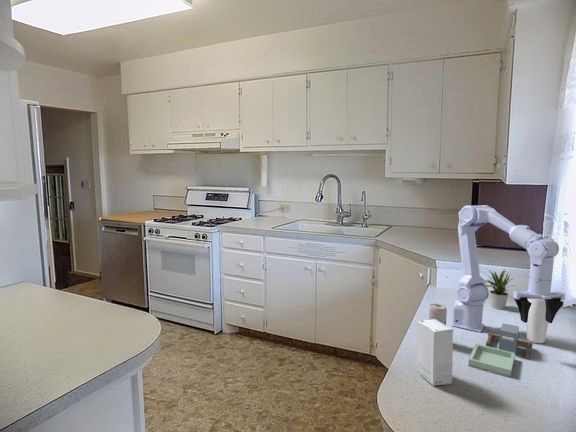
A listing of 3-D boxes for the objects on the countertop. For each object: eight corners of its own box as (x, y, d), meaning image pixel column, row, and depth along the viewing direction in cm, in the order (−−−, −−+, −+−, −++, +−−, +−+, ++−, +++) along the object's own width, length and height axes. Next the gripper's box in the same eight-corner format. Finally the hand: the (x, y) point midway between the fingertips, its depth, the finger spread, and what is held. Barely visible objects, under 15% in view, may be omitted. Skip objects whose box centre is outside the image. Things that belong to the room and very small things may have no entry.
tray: (468, 365, 111) (468, 359, 110) (475, 349, 121) (476, 343, 121) (510, 377, 105) (511, 370, 104) (514, 359, 115) (515, 353, 115)
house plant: (481, 298, 172) (484, 262, 170) (517, 305, 164) (520, 267, 162) (475, 307, 161) (478, 268, 159) (513, 314, 153) (516, 274, 151)
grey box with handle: (498, 352, 120) (499, 330, 119) (501, 343, 126) (502, 323, 125) (514, 356, 117) (516, 334, 116) (516, 347, 123) (518, 326, 123)
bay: (484, 348, 122) (484, 342, 122) (488, 338, 130) (488, 332, 129) (530, 359, 115) (530, 353, 115) (531, 348, 123) (532, 342, 122)
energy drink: (445, 340, 128) (447, 305, 126) (444, 346, 123) (446, 310, 122) (428, 336, 130) (430, 302, 129) (426, 343, 125) (428, 307, 124)
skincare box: (452, 384, 101) (456, 329, 99) (431, 386, 99) (435, 331, 98) (433, 368, 109) (436, 317, 107) (414, 370, 107) (417, 319, 106)
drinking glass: (551, 346, 125) (555, 301, 123) (528, 343, 126) (532, 299, 124) (542, 337, 131) (546, 294, 130) (520, 335, 132) (524, 293, 131)
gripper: (524, 281, 112) (520, 326, 114) (574, 282, 112) (569, 327, 114) (510, 275, 119) (507, 317, 121) (557, 276, 119) (553, 318, 121)
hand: (536, 321), depth 118 cm, fingers open, 7 cm apart
